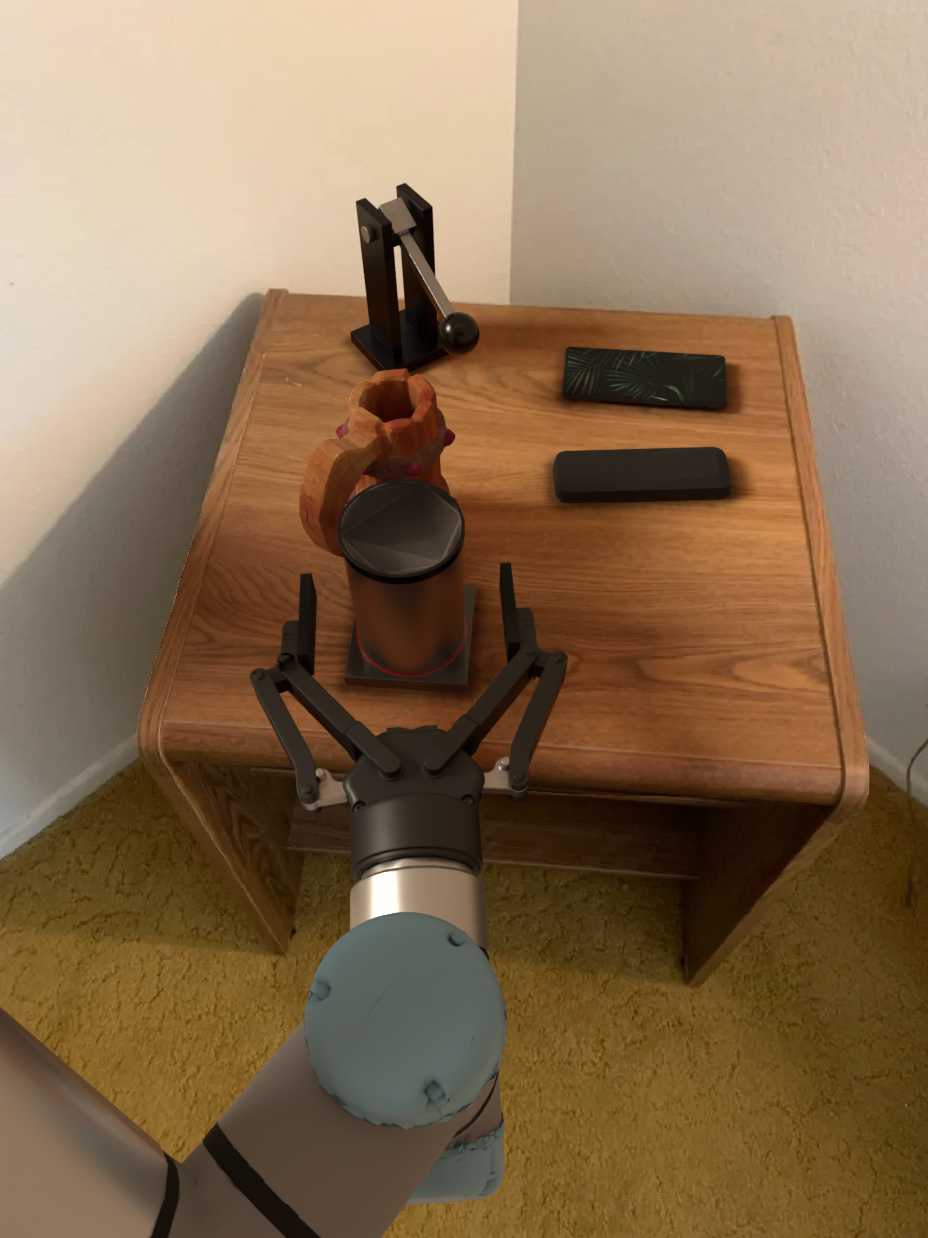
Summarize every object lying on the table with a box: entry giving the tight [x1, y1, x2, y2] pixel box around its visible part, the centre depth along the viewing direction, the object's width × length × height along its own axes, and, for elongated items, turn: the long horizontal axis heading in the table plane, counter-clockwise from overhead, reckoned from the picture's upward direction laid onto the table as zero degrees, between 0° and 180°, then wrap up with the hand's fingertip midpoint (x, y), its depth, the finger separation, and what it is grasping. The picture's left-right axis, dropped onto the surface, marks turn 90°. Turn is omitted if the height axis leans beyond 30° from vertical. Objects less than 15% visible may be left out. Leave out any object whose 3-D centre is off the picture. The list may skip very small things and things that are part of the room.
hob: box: [343, 584, 477, 693], centre depth 70 cm, size 9×9×1 cm
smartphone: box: [561, 346, 729, 410], centre depth 86 cm, size 7×1×15 cm
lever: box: [377, 197, 481, 357], centre depth 79 cm, size 14×4×4 cm, turn 34°
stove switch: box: [349, 182, 450, 373], centre depth 84 cm, size 7×8×15 cm
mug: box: [298, 368, 460, 559], centre depth 69 cm, size 15×8×15 cm, turn 145°
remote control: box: [552, 446, 733, 503], centre depth 79 cm, size 5×2×15 cm
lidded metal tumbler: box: [337, 479, 466, 674], centre depth 65 cm, size 8×8×12 cm
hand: (407, 579), depth 64 cm, fingers open, 13 cm apart
